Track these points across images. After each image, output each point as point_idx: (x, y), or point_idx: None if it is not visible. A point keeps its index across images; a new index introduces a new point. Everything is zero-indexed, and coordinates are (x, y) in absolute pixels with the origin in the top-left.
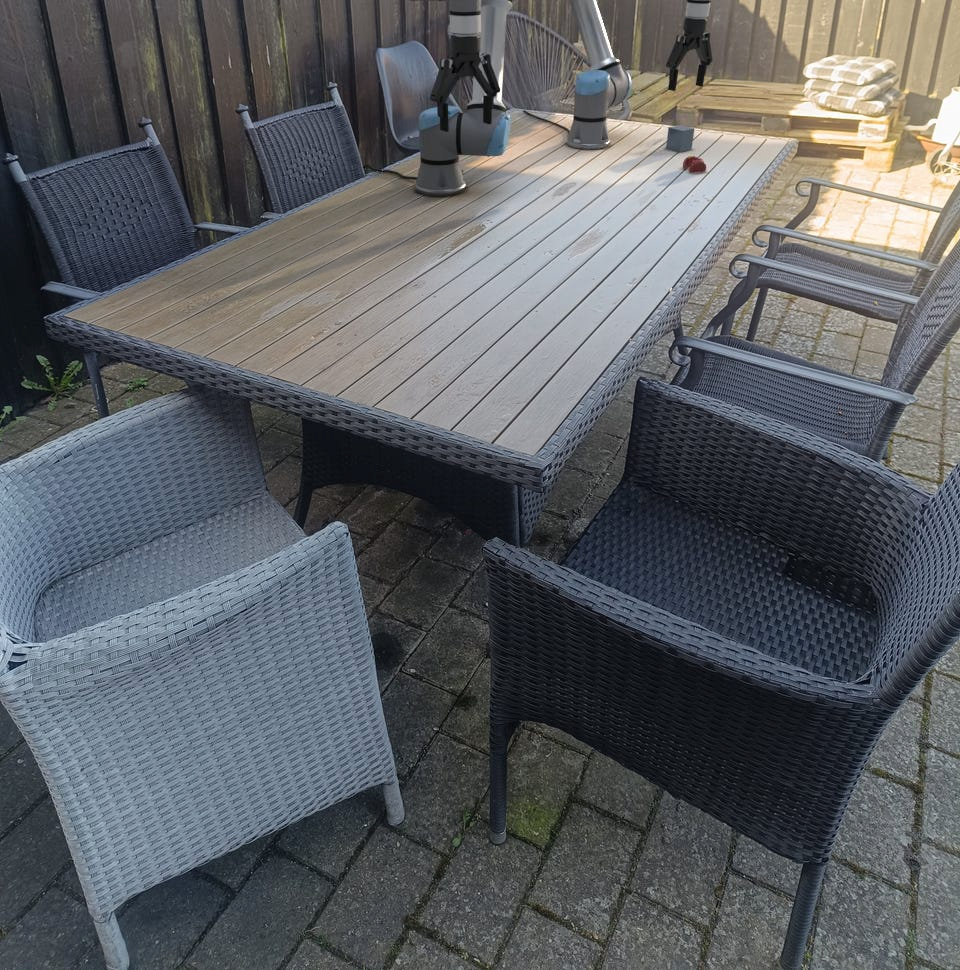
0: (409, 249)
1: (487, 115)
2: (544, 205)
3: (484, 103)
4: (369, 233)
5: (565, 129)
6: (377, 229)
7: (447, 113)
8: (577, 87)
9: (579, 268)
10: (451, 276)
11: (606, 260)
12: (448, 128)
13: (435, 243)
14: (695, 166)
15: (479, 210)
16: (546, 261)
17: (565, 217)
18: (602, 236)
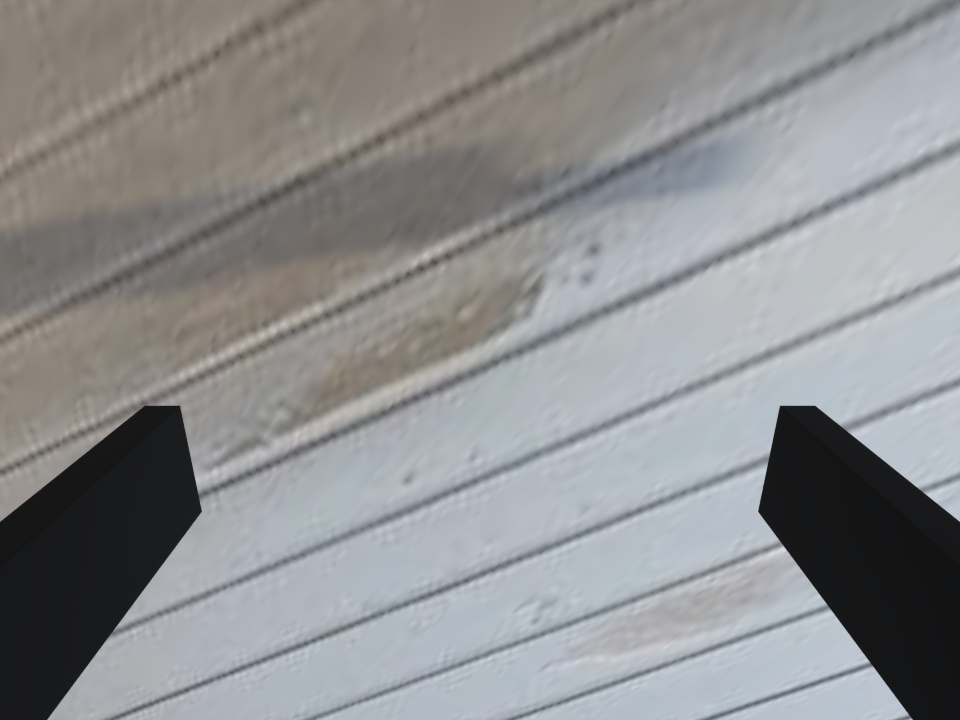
0: (145, 339)
1: (813, 539)
2: (934, 231)
3: (935, 586)
4: (46, 64)
5: None
6: (99, 34)
7: (66, 674)
8: None
9: (523, 716)
10: (179, 590)
11: (623, 716)
12: (184, 532)
13: (262, 344)
14: None
15: (662, 100)
16: (484, 646)
17: (856, 402)
18: (776, 599)
